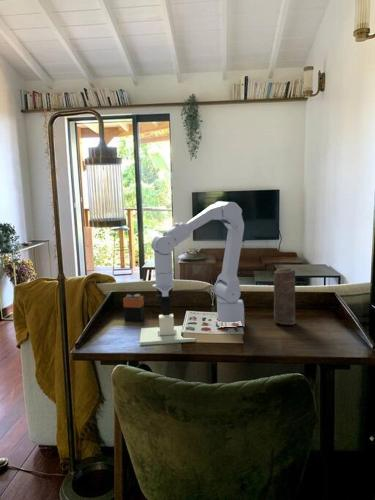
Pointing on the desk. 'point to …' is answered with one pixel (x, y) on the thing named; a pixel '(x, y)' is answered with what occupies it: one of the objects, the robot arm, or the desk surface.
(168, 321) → the housing
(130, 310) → the battery
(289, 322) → the candle
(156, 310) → the desk surface
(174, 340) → the header board
